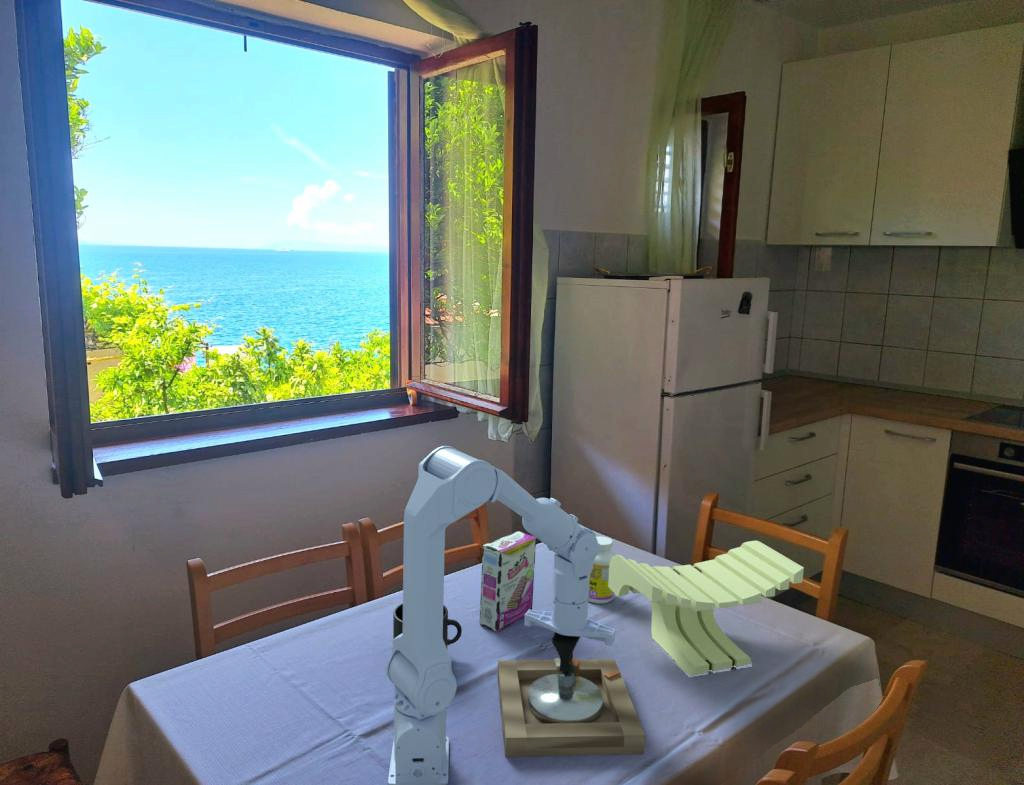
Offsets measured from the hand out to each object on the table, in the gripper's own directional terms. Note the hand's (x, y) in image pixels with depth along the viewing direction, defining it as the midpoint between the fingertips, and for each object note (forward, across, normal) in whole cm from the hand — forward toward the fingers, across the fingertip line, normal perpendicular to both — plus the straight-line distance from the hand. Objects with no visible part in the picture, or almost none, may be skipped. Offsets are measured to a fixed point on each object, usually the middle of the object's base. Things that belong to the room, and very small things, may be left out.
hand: (566, 673), depth 115 cm
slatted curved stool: (+4, -18, -24) cm, 31 cm away
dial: (+2, -1, +4) cm, 5 cm away
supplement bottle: (+5, +5, -36) cm, 37 cm away
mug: (+4, +26, 0) cm, 26 cm away
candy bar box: (+5, +18, -20) cm, 27 cm away
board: (+4, -1, +4) cm, 6 cm away
